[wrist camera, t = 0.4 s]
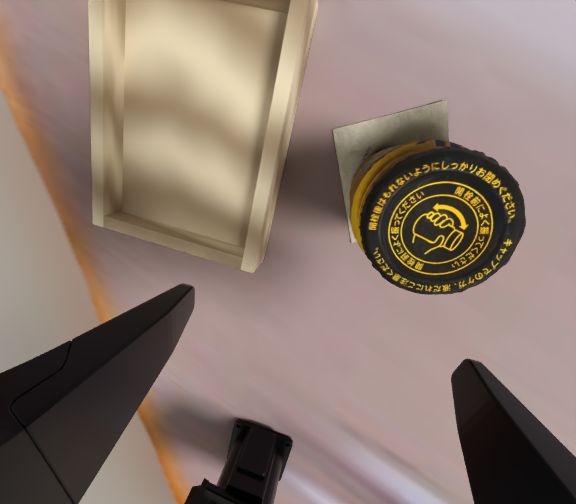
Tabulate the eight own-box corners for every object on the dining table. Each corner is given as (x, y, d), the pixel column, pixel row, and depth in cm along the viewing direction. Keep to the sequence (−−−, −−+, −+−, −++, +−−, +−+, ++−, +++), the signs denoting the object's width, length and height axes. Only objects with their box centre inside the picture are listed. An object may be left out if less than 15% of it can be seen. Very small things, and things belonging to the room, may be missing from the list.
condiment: (351, 242, 22) (352, 325, 11) (332, 129, 20) (311, 94, 9) (452, 226, 21) (575, 308, 9) (445, 100, 18) (593, 10, 7)
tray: (263, 260, 24) (252, 273, 22) (120, 217, 26) (92, 224, 23) (318, 6, 18) (312, -21, 15) (124, -30, 20) (87, -61, 17)
